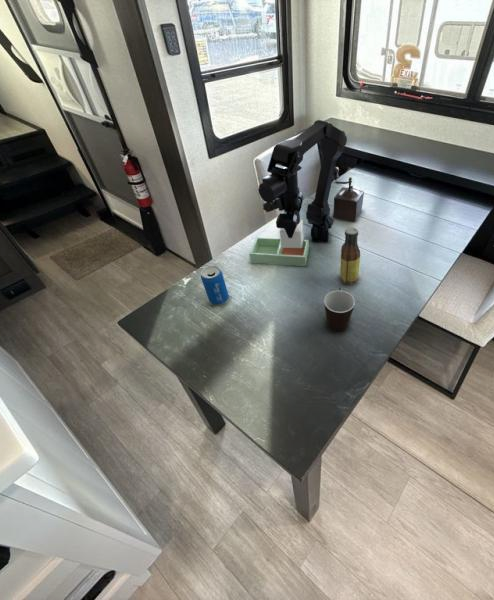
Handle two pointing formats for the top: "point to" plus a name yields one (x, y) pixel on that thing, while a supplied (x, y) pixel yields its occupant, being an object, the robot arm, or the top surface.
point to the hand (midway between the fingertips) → (291, 231)
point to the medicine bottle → (297, 236)
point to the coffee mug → (338, 309)
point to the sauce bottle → (350, 257)
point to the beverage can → (214, 285)
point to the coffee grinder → (347, 201)
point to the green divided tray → (278, 252)
